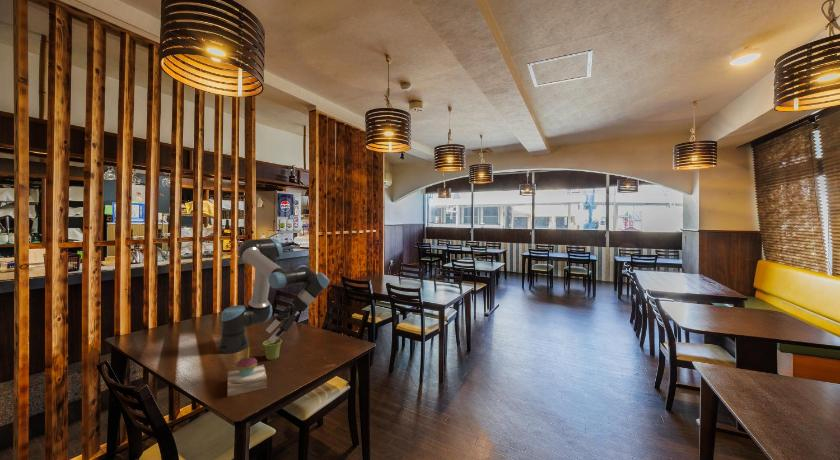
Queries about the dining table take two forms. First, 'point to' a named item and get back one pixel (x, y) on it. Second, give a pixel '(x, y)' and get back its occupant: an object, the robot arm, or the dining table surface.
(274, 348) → the plant pot
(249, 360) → the cupcake
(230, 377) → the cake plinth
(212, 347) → the dining table surface
